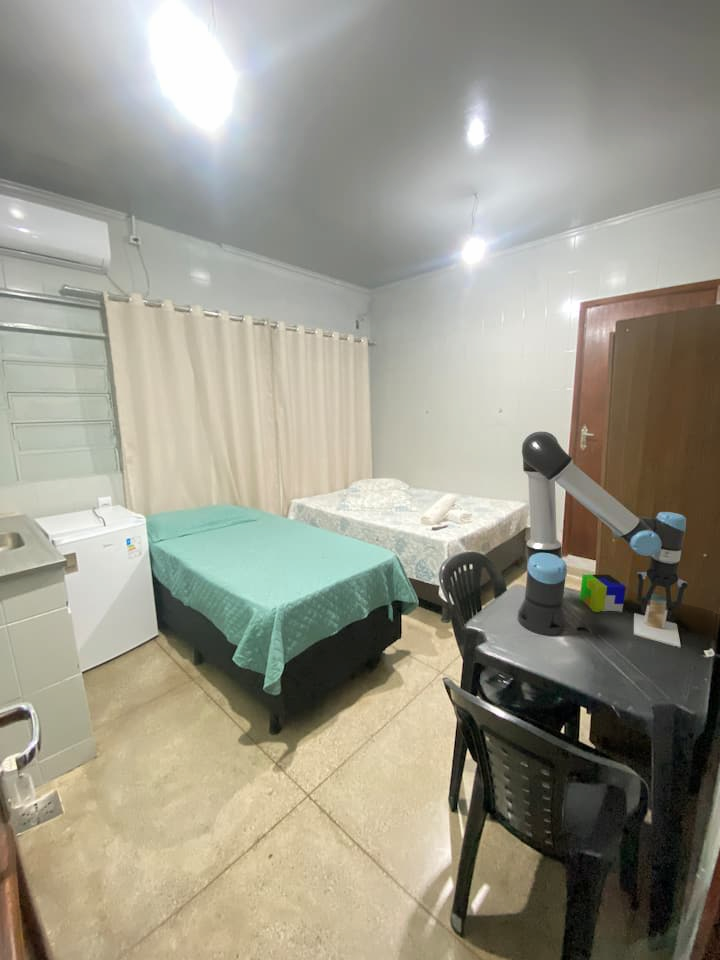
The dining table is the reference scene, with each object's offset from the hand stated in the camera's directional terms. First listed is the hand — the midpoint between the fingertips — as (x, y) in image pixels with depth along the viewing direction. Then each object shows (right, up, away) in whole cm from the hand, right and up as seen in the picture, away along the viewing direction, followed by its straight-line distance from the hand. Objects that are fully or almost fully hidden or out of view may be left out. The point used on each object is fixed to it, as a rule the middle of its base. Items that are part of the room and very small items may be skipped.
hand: (654, 623), depth 134 cm
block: (0, 0, 0) cm, 0 cm away
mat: (-1, -1, -2) cm, 3 cm away
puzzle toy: (-10, +2, +14) cm, 17 cm away
